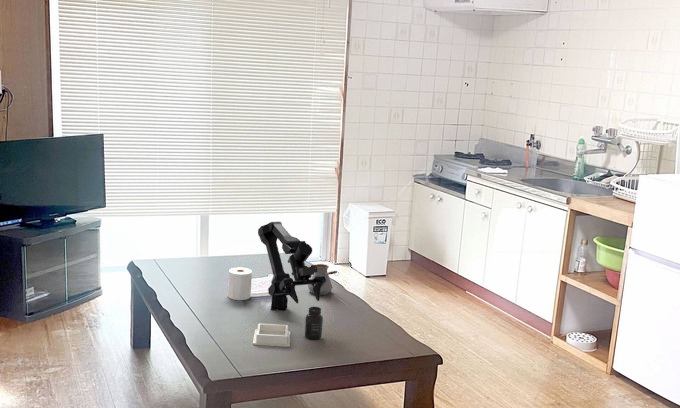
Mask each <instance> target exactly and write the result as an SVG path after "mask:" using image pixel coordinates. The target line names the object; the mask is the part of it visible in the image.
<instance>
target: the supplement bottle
mask: <svg viewBox="0 0 680 408" xmlns="http://www.w3.org/2000/svg"><path fill="white" fill-rule="evenodd" d="M307 312H308V313H307V314H306V315H305V322H304V324H305V325H304V337H305V338H306V339H307V340H309V341H319V340H321V339H322V336H323V323H324V316H323V315H322V308H321V307H319V306H310V307H309V308H308V311H307Z"/></svg>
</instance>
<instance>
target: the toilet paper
mask: <svg viewBox="0 0 680 408" xmlns="http://www.w3.org/2000/svg"><path fill="white" fill-rule="evenodd" d="M252 279H253V270H252V269H249V268H247V267H232V268H230V269H229V270H228V286H227V288H228V289H227V298H229V299H231V300H234V301H246V300H249V299H251V297H252V296H251V294H252Z"/></svg>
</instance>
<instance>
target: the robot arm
mask: <svg viewBox="0 0 680 408" xmlns="http://www.w3.org/2000/svg"><path fill="white" fill-rule="evenodd" d="M257 234H258V237H259V239H260V242H261V243H262V244H263V245H264V246H265V247H266V251H267V252H266V253H267V255H268V260H269V264H270V267H271V272H272V278H271V281H270V282H271V285H270V286H269V287H268V289H267V291H268V295H269V296H271V303H270V304H271V305H270V310H271V311H282V312H284V311H285V312H286V311H287V308H288V301H289V300H288V299H289V297H290V298H291V299H292V300H293V301H294V302H295V304H299V298H298V294H297V292H296V287H297V286H306V285H307V286H308V284H312V286H313V287H314V288H313V291H314V296H315V299H316V301H317V302H319V301H320V299H321V297H320V296H321V295H320V288H321V287H322V286H323V285H324V283H325V282H326V277H325V276H323V275H321V276H315V278H314V279H312V276H313V275H314V273H316V272H317V271H318V270H317V266H316V265H317V264H311V265H310V266H308V265H306V264H305V262H306V261H307V260H308V258H309V257H310V256H311V254H312V253H313V248H312V246H311V245H310V244H309V243H307V242H306V241H305V240H300V239H299V238H297V237H295V236H292V235H291V234H290V233H289V231H288V230H287V229H286V228H285V227H284V225H283V223H282V222H281V221H271V222H268V223H266V224H264V225H261V226H260V227H259V228H258V229H257ZM277 241H279V242H280V243H281V245H282V246H281V250H282V251H283V253H285V255H290V256H289V257H288V260H287V263H288V264H290V267H291V275H290V274H289V273H286V271H284V266H283V262H282V259H281V254H280V251H279V247H278V244H277ZM291 276H293V278H292V277H291ZM310 278H311V279H310ZM288 296H289V297H288Z"/></svg>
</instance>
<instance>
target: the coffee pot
mask: <svg viewBox="0 0 680 408" xmlns="http://www.w3.org/2000/svg"><path fill="white" fill-rule="evenodd" d="M315 265H316V266H317V270H318V271H317V272H316V273H314V275H312V276H311V279H314V278H315V276H321V275H323V276H325V277H326V282H325V283H324V285H323V286H322V287H321V288H320V296H325V295H328V294H329V293H330V292H331V291H332V289H333V284H332V281H331V278H330V275H333V274H334V275H335V276H339V274H340V272H338V270H333V271H332V270H331V271H329V272H328V269H329V265H328V264H323V263H319V264H318V263H317V264H315ZM337 273H338V275H337ZM307 288H308V290H309V291H311V293H312V294H314V291H313V288H314V287H313V286H312V284H308V285H307ZM314 295H315V294H314Z"/></svg>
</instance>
